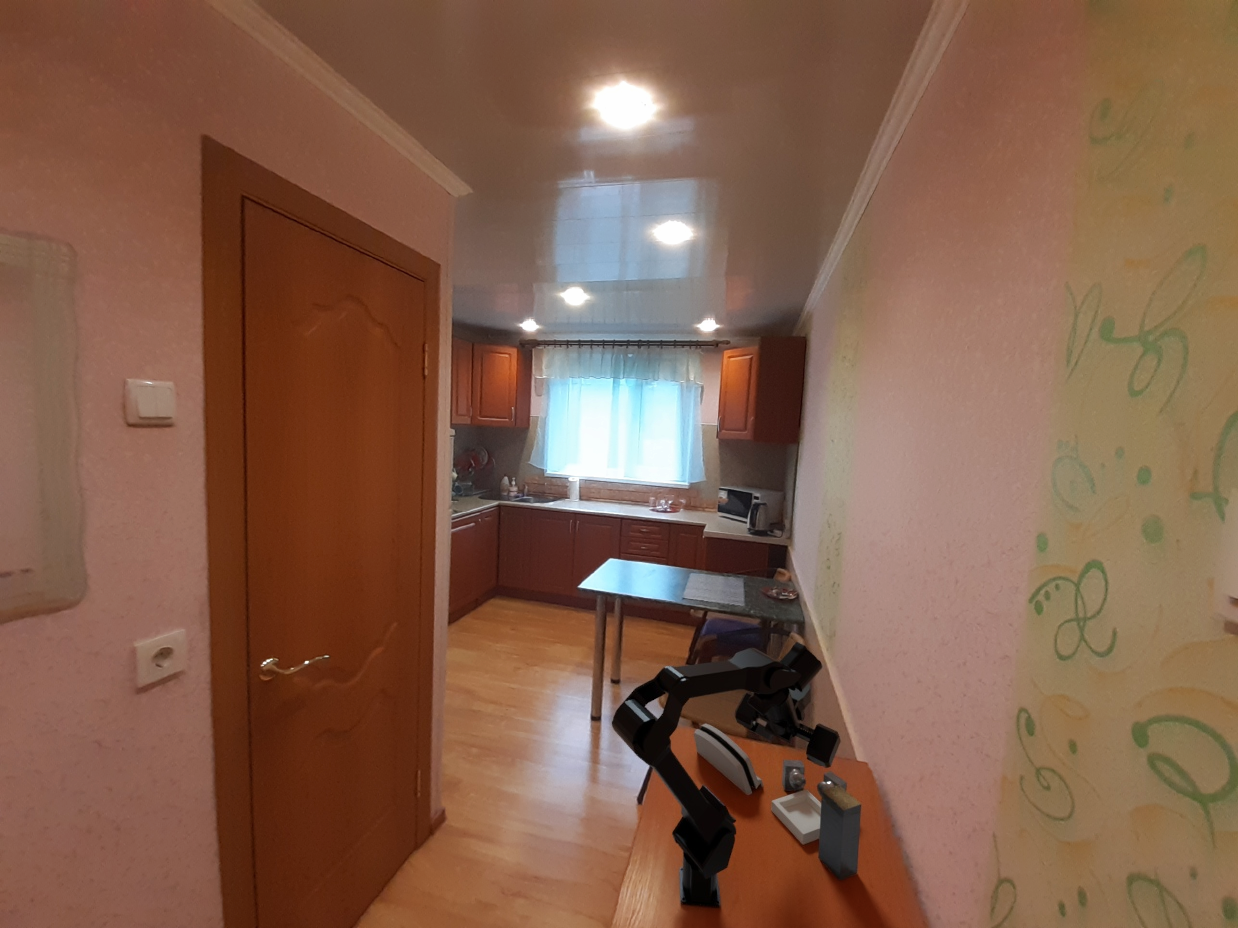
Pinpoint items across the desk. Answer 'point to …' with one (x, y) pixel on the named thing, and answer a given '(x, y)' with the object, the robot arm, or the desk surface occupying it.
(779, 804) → the white square tray
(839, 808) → the tan and grey block
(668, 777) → the robot arm
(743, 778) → the white electronic device
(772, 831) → the desk surface
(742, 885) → the desk surface
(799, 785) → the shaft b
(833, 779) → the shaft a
